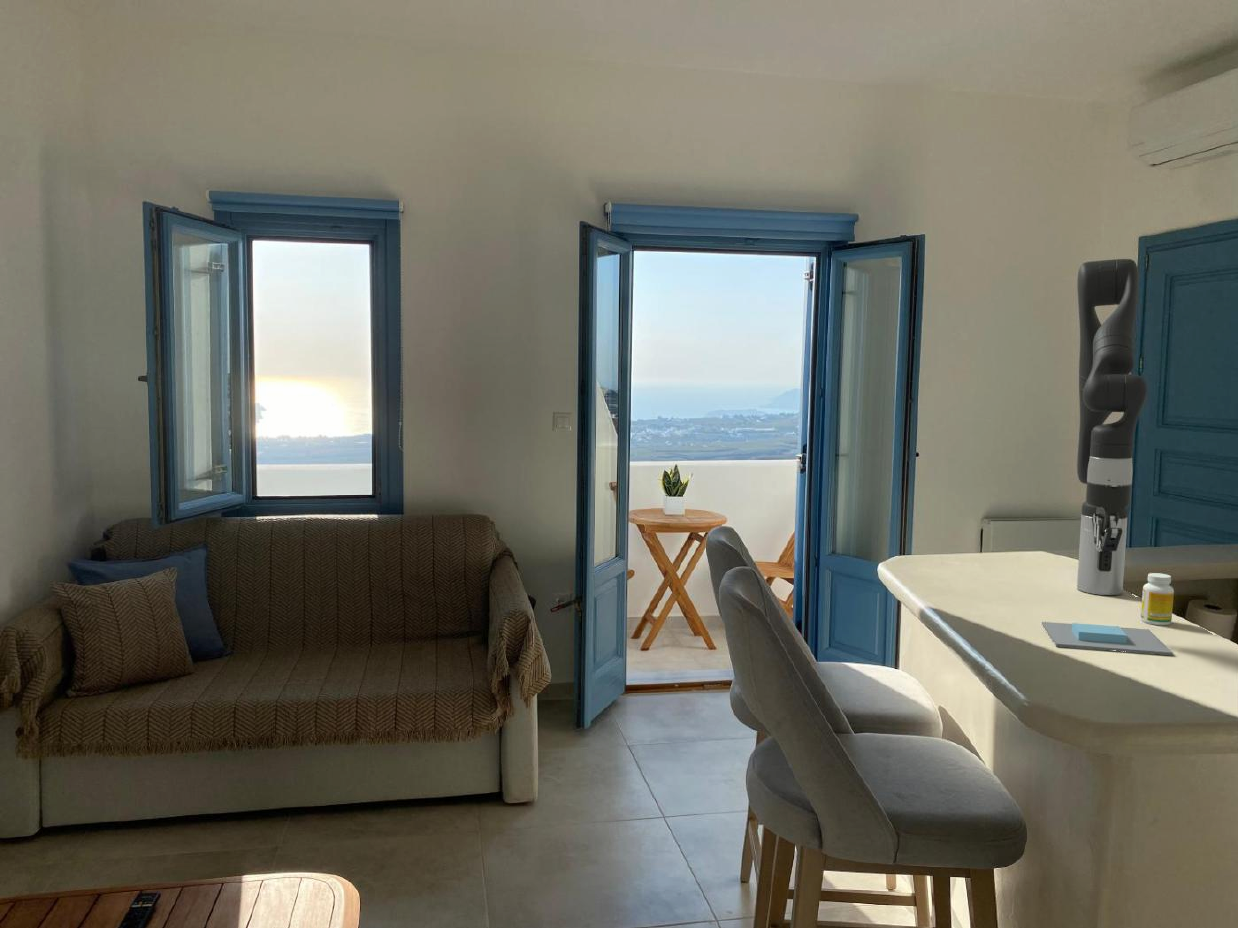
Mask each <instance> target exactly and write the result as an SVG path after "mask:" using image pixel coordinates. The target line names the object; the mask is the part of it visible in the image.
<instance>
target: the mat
mask: <svg viewBox="0 0 1238 928" xmlns="http://www.w3.org/2000/svg"><path fill="white" fill-rule="evenodd" d="M1042 625H1043V626H1042ZM1041 626H1042V627H1043V629H1044V628H1045V629H1044V630H1045V632H1046V631H1047V632H1046V633H1048V634H1047V635H1048V636H1050V637H1049V639H1052V640H1051V642H1052V643H1053V642H1054V643H1055V644H1054V643H1053V644H1054V646H1055V645H1056V646H1060V647H1059V648H1064V647H1070V648H1069V649H1077V648H1078V649H1079V648H1080V650H1089V651H1090V650H1091V649H1092V650H1093V651H1103V650H1116V651H1124V652H1123V653H1128V652H1134V653H1133V654H1141V653H1146V654H1145V655H1154V654H1162V655H1161V656H1167V655H1173V656H1174V652H1173V651H1172V650H1171V649H1170V648H1169V647H1168V646H1167V645H1166V644H1164V642H1163V641H1161V640H1160V638H1158V637H1157V636H1156V635H1155V634H1154V633H1153V631H1151V630H1150V629H1146V628H1133V627H1122V626H1121V627H1120V626H1119V627H1120V628H1121V629H1122V630H1123V632H1124V633H1125V634H1126V635H1127V642H1126V644H1122V643H1109V642H1096V641H1083V640H1078V639H1077V638H1076V636H1075V635H1074V633H1073V632H1072V623H1064V622H1051V621H1041ZM1056 646H1055V647H1056ZM1061 646H1062V647H1061ZM1078 649H1077V650H1078ZM1092 650H1091V651H1092ZM1125 651H1126V652H1125Z"/></svg>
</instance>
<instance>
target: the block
mask: <svg viewBox="0 0 1238 928" xmlns="http://www.w3.org/2000/svg"><path fill="white" fill-rule="evenodd" d="M1071 624H1072V632H1073V633H1074V635H1075V636H1076V638H1077V639H1078V640H1083V641H1096V642H1109V643H1122V644H1126V642H1127V635H1126V634H1125V633H1124V632H1123V630H1122V629H1121V628H1120V626H1118V625H1117V626H1116V625H1106V624H1091V623H1080V622H1079V623H1077V622H1072V623H1071Z"/></svg>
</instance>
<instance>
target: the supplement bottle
mask: <svg viewBox="0 0 1238 928" xmlns="http://www.w3.org/2000/svg"><path fill="white" fill-rule="evenodd" d="M1171 583H1172V576H1171V575H1169V574H1166V573H1160V572H1159V573H1158V572H1156V573H1155V572H1150V573H1148V575H1147V583H1145V584H1144V585H1143V587H1142V596H1141V610H1140V620H1141V622H1143V623H1145V624H1150V625H1155V626H1170V625H1171V624H1172V621H1173V620H1172V619H1173V618H1172V617H1173V607H1174V596H1175V590H1174V588H1173V586H1172V585H1170V584H1171Z"/></svg>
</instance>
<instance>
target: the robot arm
mask: <svg viewBox="0 0 1238 928" xmlns="http://www.w3.org/2000/svg"><path fill="white" fill-rule="evenodd" d="M1139 277H1140V276H1139V269H1138V265H1137V263H1136V262H1135V260H1133V259H1131V258H1118V259H1117V258H1116V259H1103V260H1094V261H1087V262H1083V263H1082V264H1081V265H1080V266H1079V268H1078V273H1077V280H1076V281H1077V284H1076V285H1077V287H1076V288H1077V303H1078V318H1079V319H1078V320H1079V321H1078V322H1079V361H1078V394H1079V395H1078V397H1079V398H1078V399H1079V429H1078V431H1079V433H1078V445H1077V457H1076V458H1077V460H1076V463H1077V465H1076V470H1077V472H1076V473H1077V478H1078V480H1079V481H1080V483H1082V484H1084V485H1086V490H1085V491H1086V492H1085V501H1084V502H1083V503H1082V505H1081V515H1080V517H1081V518H1080V533H1079V550H1078V566H1077V577H1076V578H1077V580H1076V589H1077V590H1078V591H1080V592H1083V593H1088V594H1093V595H1100V596H1101V595H1102V596H1119V595H1121V594H1123V586H1124V574H1125V573H1124V572H1125V561H1126V545H1127V533H1128V531H1127V527H1128V516H1129V514H1128V513H1129V512H1128V509H1129V507H1130V506H1131V503H1132V499H1131V498H1132V491H1133V490H1132V489H1133V488H1132V487H1133V486H1132V485H1133V468H1134V467H1133V463H1134V461H1133V459H1134V458H1133V447H1134V445H1133V444H1134V437H1135V436H1134V435H1135V431H1136V428H1137V423H1138V420H1139V417H1140V414H1141V412H1142V409H1143V407H1144V406H1145V404H1146V403H1145V402H1146V400H1147V396H1148V392H1149V389H1148V385H1147V384H1148V383H1147V381H1146V380H1145V379H1144V377H1143V376H1141V375H1139V374H1134V373H1131V372H1132V371H1133V370H1134V367H1135V346H1134V331H1135V323H1136V316H1137V310H1138V299H1139V298H1138V297H1139V289H1140V288H1139V287H1140V286H1139V285H1140V284H1139V282H1140V278H1139ZM1115 305H1116V306H1117V305H1118V306H1117V307H1116V309H1114V311H1113V312H1112V313H1111V314H1110V315H1109V317H1108V318H1106V320H1104V322H1102V323H1101V321H1100V320H1099V317H1098V315H1097V312H1096V309H1095V308H1096V307H1100V306H1101V307H1102V306H1103V307H1104V306H1115ZM1112 413H1123V415H1122V417H1121V418H1120V419H1119V420H1117V421H1115V422H1110V423H1106V424H1105V422H1106V421H1107V419H1108V418H1109V416H1110V415H1112Z"/></svg>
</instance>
